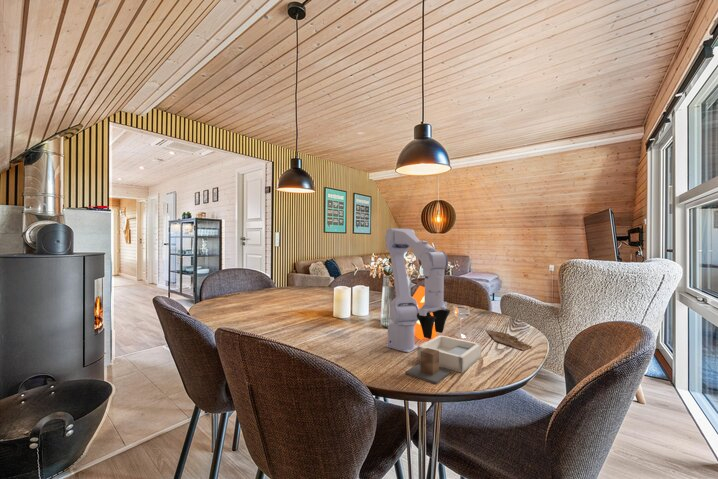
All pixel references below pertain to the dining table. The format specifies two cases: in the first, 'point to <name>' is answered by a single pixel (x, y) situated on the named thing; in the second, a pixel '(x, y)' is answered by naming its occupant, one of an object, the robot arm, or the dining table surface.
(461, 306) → the wineglass
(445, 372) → the place mat
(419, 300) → the orange juice
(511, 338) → the wooden fragment
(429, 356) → the walnut block
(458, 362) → the box
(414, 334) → the robot arm
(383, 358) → the dining table surface
